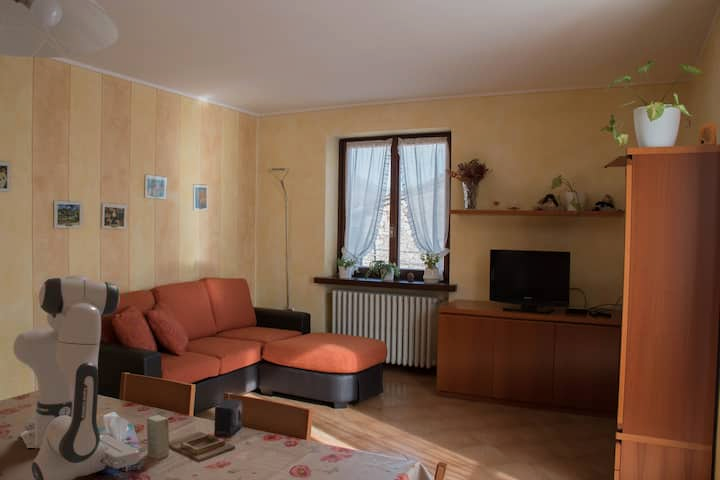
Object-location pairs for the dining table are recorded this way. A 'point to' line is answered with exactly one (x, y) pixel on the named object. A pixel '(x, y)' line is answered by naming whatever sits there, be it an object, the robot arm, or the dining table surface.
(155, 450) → the skincare box
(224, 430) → the small box
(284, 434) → the dining table surface
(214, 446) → the wooden board with frame
